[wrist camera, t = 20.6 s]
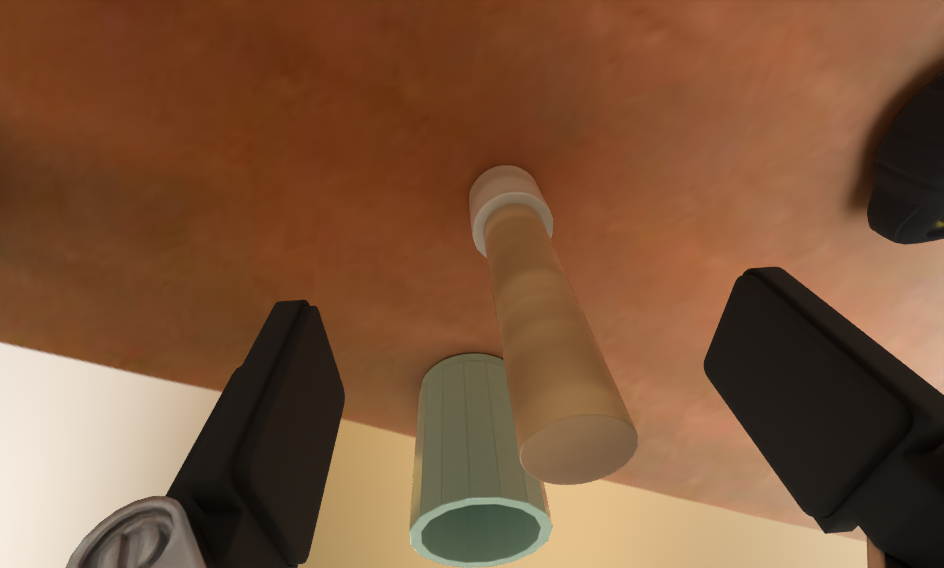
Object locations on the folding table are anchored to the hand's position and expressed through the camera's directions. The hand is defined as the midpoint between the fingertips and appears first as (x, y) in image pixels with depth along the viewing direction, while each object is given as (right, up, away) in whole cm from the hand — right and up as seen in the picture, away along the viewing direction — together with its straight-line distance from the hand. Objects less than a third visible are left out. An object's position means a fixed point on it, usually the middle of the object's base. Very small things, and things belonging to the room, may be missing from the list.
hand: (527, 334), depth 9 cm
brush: (0, +5, +8) cm, 9 cm away
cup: (-1, -5, +15) cm, 15 cm away
